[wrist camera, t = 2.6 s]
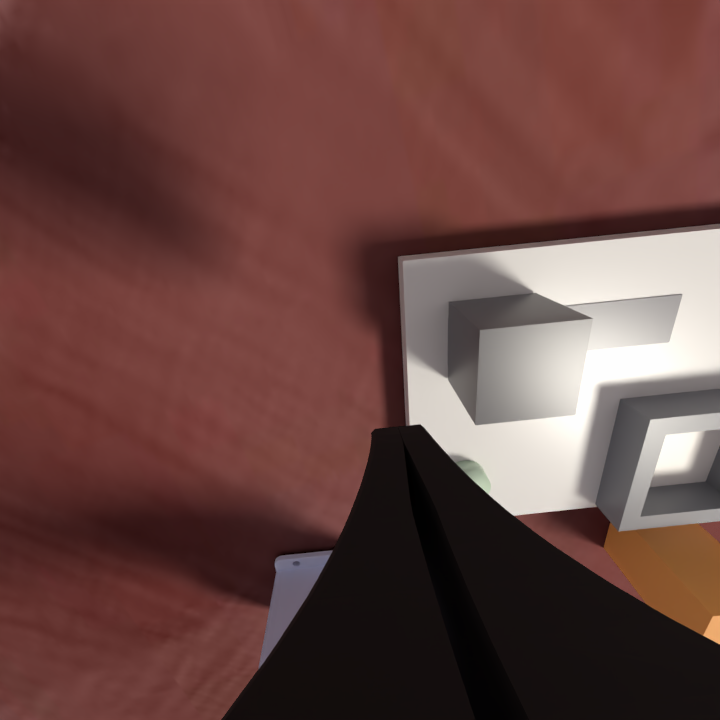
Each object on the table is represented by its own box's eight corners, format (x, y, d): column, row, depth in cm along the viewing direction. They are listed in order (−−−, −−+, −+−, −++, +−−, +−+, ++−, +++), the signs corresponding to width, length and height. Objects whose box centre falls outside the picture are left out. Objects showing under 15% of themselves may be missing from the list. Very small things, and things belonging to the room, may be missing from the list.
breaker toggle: (447, 379, 18) (475, 425, 14) (448, 301, 16) (479, 330, 12) (527, 371, 18) (575, 415, 14) (535, 292, 16) (593, 318, 12)
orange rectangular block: (603, 547, 26) (689, 661, 19) (614, 506, 24) (712, 616, 18) (657, 541, 26) (762, 653, 19) (672, 500, 24) (792, 607, 18)
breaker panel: (409, 506, 23) (420, 555, 20) (397, 256, 17) (410, 268, 13) (711, 475, 23) (770, 518, 20) (816, 213, 17) (928, 215, 13)
